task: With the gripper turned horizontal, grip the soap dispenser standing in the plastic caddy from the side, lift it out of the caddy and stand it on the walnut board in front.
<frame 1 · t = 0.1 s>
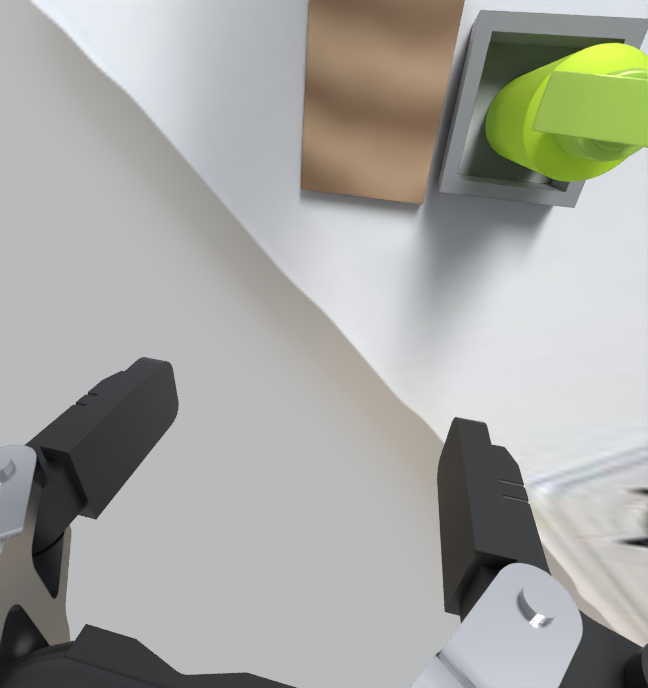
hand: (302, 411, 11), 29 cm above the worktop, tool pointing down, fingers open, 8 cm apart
soap dispenser: (518, 117, 30), resting in caddy
caddy: (518, 117, 30), on the worktop
board: (373, 104, 31), on the worktop
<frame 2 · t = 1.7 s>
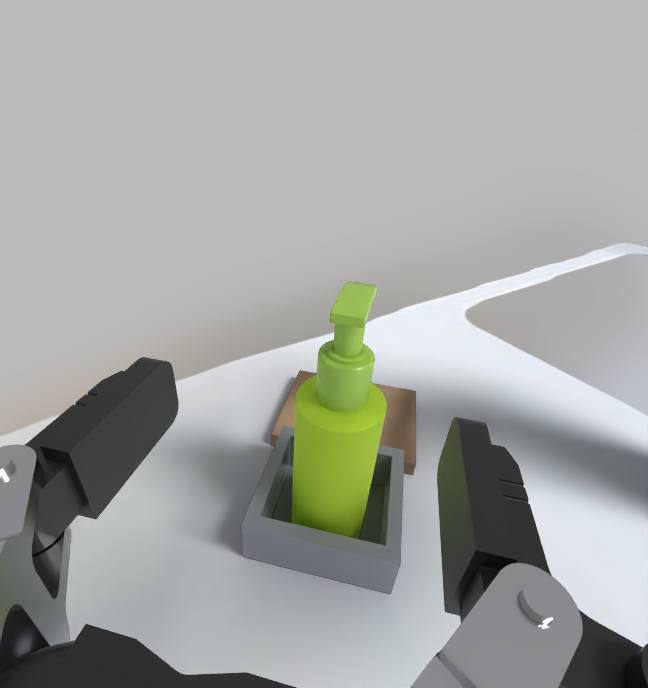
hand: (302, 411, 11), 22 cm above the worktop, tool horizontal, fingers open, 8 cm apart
soap dispenser: (328, 515, 32), resting in caddy
caddy: (328, 514, 32), on the worktop
board: (348, 421, 41), on the worktop
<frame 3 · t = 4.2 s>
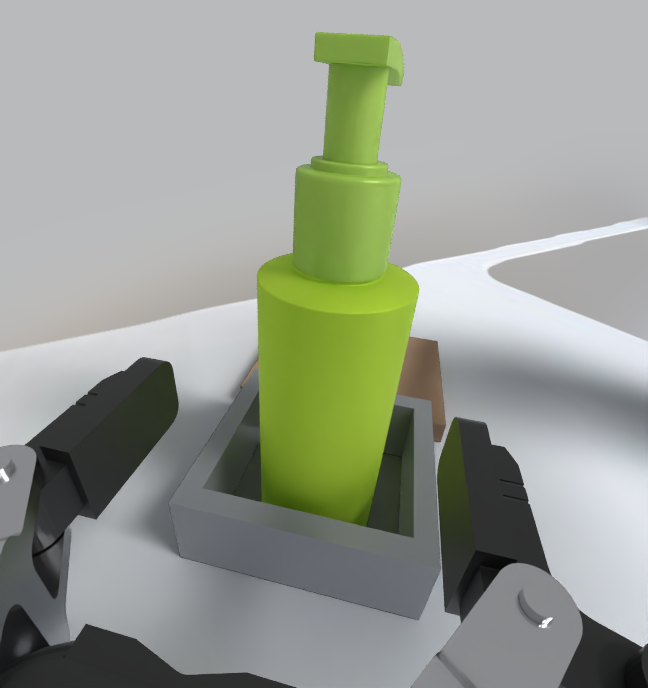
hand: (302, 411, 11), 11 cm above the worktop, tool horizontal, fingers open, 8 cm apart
soap dispenser: (318, 496, 21), resting in caddy
caddy: (318, 493, 21), on the worktop
board: (349, 376, 31), on the worktop
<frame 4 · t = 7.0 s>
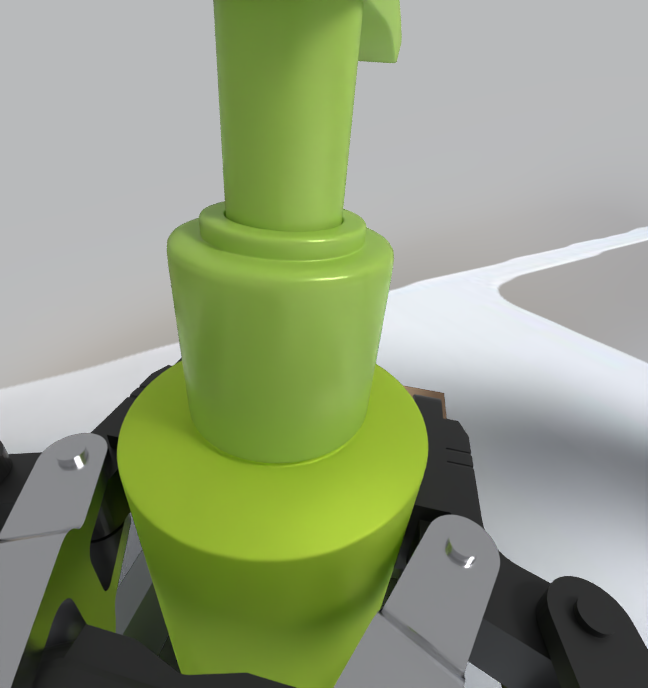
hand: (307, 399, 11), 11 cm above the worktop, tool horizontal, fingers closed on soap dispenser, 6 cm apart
soap dispenser: (279, 656, 15), resting in caddy, touching gripper
caddy: (279, 654, 15), on the worktop
board: (333, 442, 25), on the worktop
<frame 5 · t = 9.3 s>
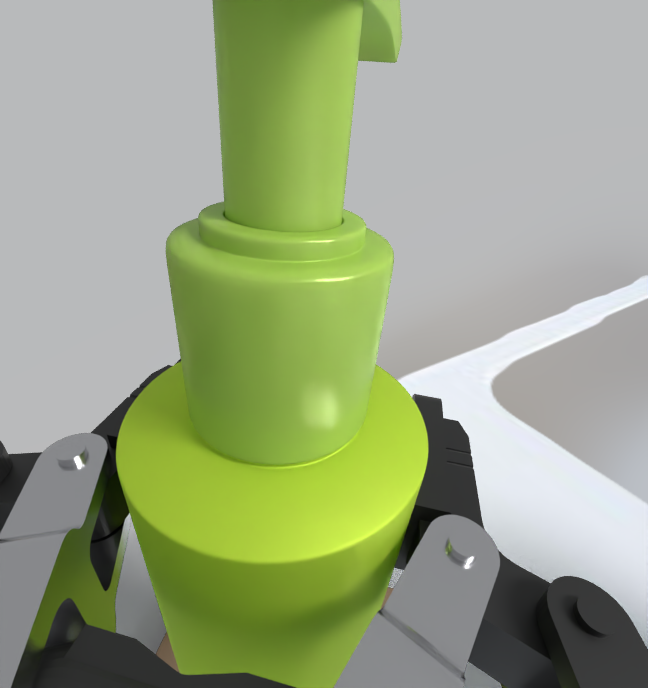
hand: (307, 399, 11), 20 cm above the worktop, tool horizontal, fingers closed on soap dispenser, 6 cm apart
soap dispenser: (279, 657, 15), point 8 cm above the worktop, touching gripper
board: (285, 680, 21), on the worktop
when the fingers open (14 cm above the worktop, at t = 11.8 s): soap dispenser drops 1 cm, resting on board.
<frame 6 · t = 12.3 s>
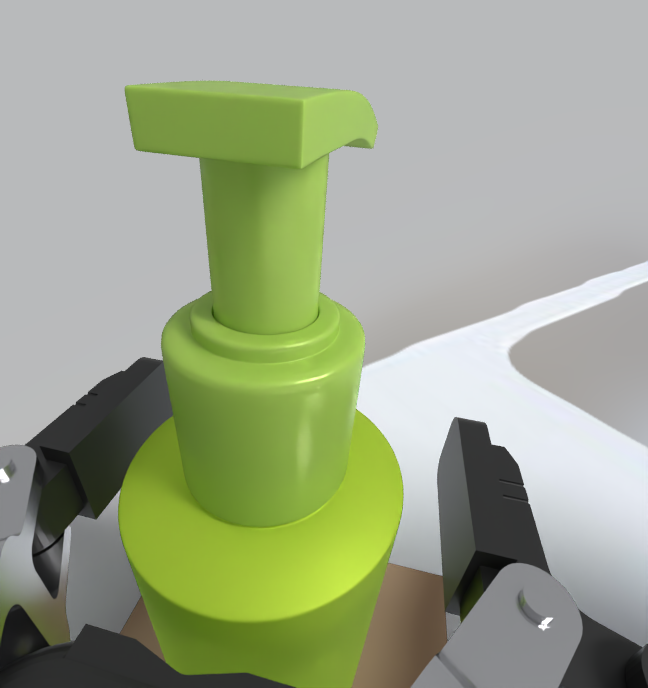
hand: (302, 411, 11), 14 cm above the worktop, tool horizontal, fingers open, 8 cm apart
soap dispenser: (275, 674, 16), point 1 cm above the worktop, touching board
board: (278, 683, 16), on the worktop
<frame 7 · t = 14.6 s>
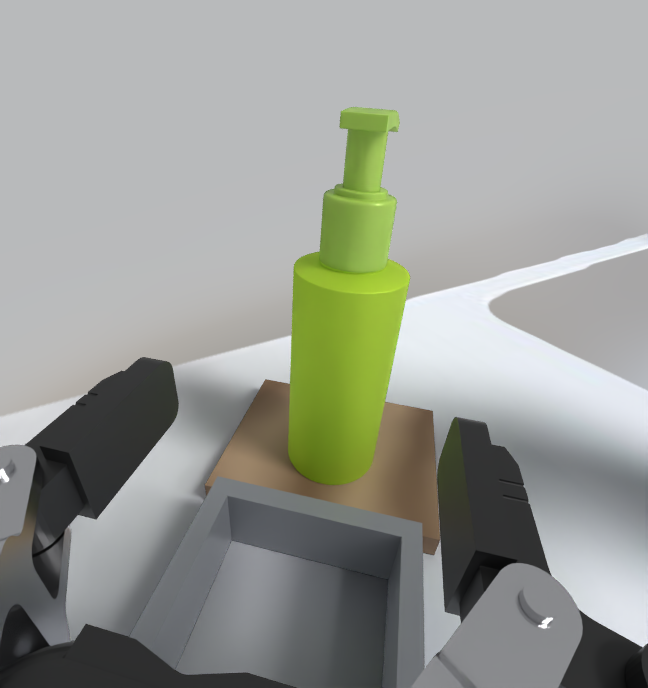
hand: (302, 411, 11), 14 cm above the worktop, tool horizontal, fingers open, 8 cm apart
soap dispenser: (332, 446, 27), point 1 cm above the worktop, touching board
caddy: (287, 643, 18), on the worktop
board: (332, 457, 27), on the worktop
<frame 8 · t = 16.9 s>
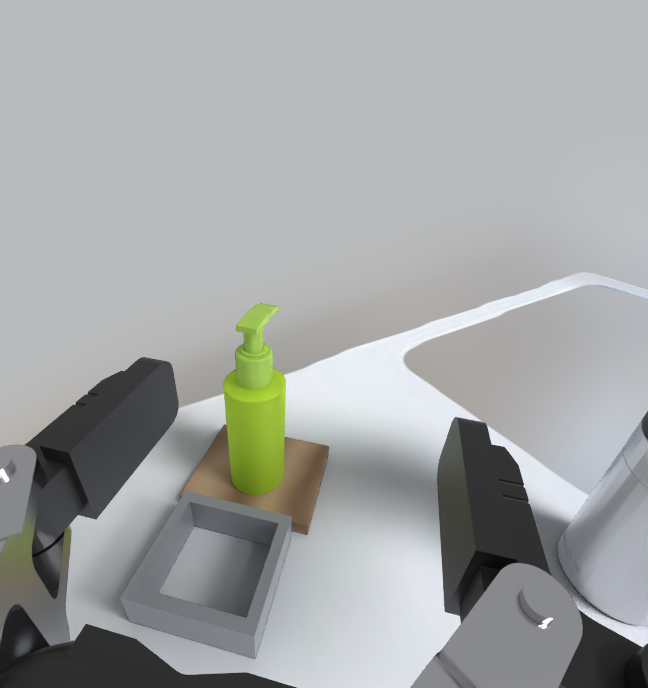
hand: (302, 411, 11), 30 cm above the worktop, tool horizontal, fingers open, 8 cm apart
soap dispenser: (259, 470, 44), point 1 cm above the worktop, touching board
caddy: (218, 577, 35), on the worktop
board: (261, 477, 45), on the worktop
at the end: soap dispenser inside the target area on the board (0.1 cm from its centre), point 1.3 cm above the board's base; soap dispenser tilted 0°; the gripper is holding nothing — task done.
